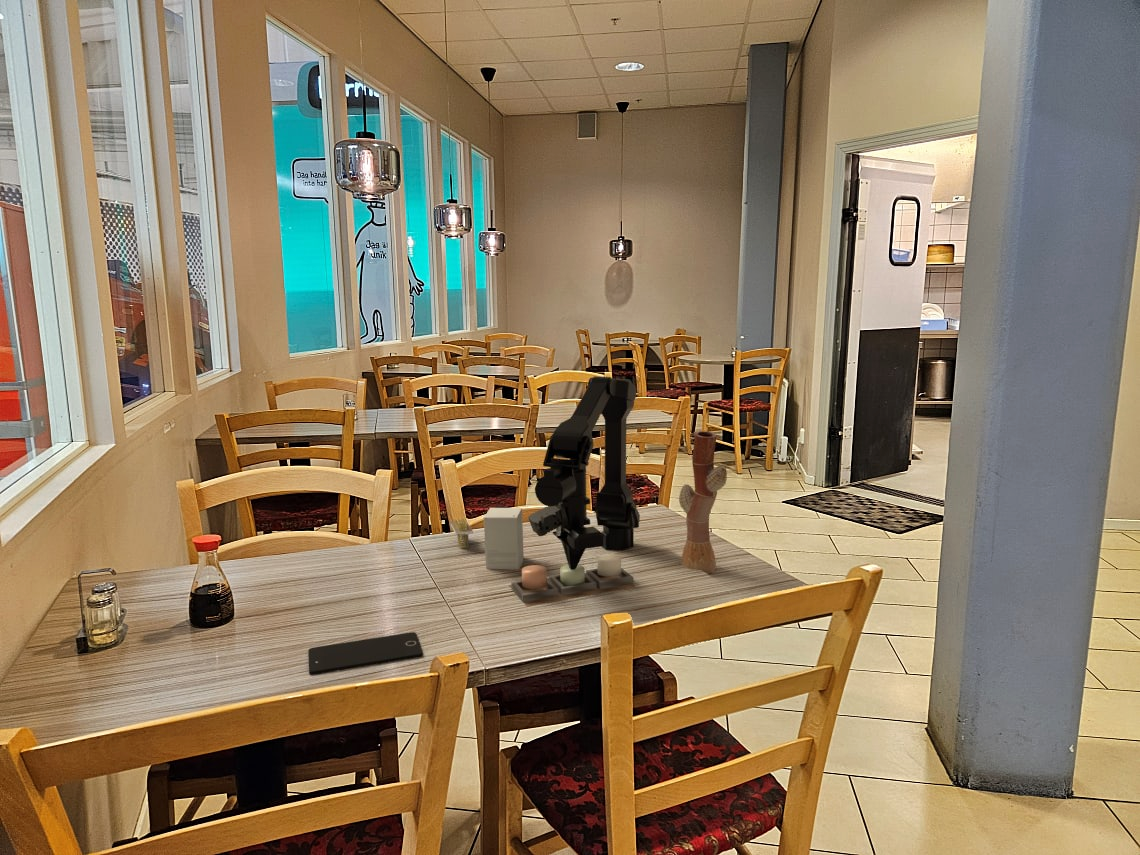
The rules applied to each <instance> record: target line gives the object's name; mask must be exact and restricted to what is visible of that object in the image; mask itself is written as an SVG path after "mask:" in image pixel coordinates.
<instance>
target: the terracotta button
mask: <svg viewBox="0 0 1140 855" xmlns="http://www.w3.org/2000/svg"><path fill="white" fill-rule="evenodd" d="M547 579H548V577H547V567H545V566H543V565H537V564H536V565H535V564H532V565H527V566H524V567H523V568H521V580H522V586H523V587H525V588H528V589H540V588H543V587H545V586H546V585H547Z"/></svg>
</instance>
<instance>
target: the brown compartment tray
mask: <svg viewBox="0 0 1140 855" xmlns="http://www.w3.org/2000/svg"><path fill="white" fill-rule="evenodd" d="M508 587H509V588H511V590H512V592H514V594H515V595H516V596H517V597H518V598H519V600H520V601H521V602H522V603H523V604H524V605H525V606H526V607H531V606H537V605H542V604H548V603H554V602H559V601H561V602H562V601H565V600H566V601H568V600H572V599H577V598H583V597H589V596H594V595H595V596H596V595H601V594H606V593H612V592H617V591H624V590H631V589H636V588H638V586H636V585H635V584H634V576H633V575H632V574H630V573H629V572H628V571H626V570H625V569H623V568H622V567H621V574H620V575H618V576H613V577H606V576H601V575H599V574H598V573H597V568H592V569H585V583H584V584H578V585H572V586H566V587H564V586H563V585H562V584H561V579H560V573H559V574H554V575H549V577H548V578H547V585H546V586H545V587H543V588H540V589H528V588H525V587H523V586H522V579H521V580H516V581H511V582H510V585H508Z"/></svg>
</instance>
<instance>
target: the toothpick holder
mask: <svg viewBox="0 0 1140 855" xmlns="http://www.w3.org/2000/svg"><path fill="white" fill-rule="evenodd" d="M454 519H455V521H454V522H451V523H450V527H451V529H452V530H453V532H454V533H455V534H456V535H457V539H458V546H459V549H465V548H466V549H467V550H468V551H469V550H470V546H469V545H470V543H469V535H473V534H474V530H473V529H472V527H471V526H470V524H469V522H468V521H467V519H465V518H464V516H461V519H458V518H457V517H455V518H454Z"/></svg>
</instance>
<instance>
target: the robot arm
mask: <svg viewBox="0 0 1140 855" xmlns="http://www.w3.org/2000/svg"><path fill="white" fill-rule="evenodd" d="M636 398H637V386H636V385H635V383H633V382H632V379H629V378H625V379H624V378H613V377H611V376H597V375H596V376H593V377H589V379H588V382H587V387H586V390H585V392H584V393H583V395H582V397H581V399H580V401H579V402H578V404H577V406H576V408H575V410H574V412H573V413H572V415H571V416H570V418H567V419H566V420H564V421H562V422H560V423H559V425H558V426H557V427H556V428H555V429H554V431H553V432H552V434H551V435H550V438H549V442H548V446H547V448H546V452H545V455H544V459H543V462H542V466H543V467H547V468H545V469H544V474H543V475H544V476H542V477H540V478H539V479H538V480H537V481H536V483H535V486H534V492H535V493H534V495H535V496H536V497H535V498H536V499H537V500H538V501H539V502H540V503H541V504H543V505H544V506H545V507H543V508H541V509H538V510H537V511H535V512H533V513H531V514H530V515H528V516H527V519H528V520H529V524H530V526H531V529H532V531H533V532H534V533H535V534H536V535H537V536H538V537H543V536H546V535H547V534H549V533H550V532H552V531H553V532H552V534H553V535H554V536H555V537H556V538H558V540H559V541H560V542H561V544H562V548H563V551H564V554H565V558H566V561H567V565H569V568H570V569H571V570H573V569H576V567H577V565H579V564H580V562H581V559H582V557H583V554H584V553H585V551H586V549H587V550H588V549H593V548H594V549H595V548H602V549H604V551H626V550H629V549H631V548H633V547H634V546H635V544H634V530H635V529H638V528H640V517H641V514H640V513H639V510H638V508H637V506H636V505H635V504H636V503H634V494H633V492H632V489H631V488H630V487H629V485H628V483H627V418H628V417H629V415H630V413H631V412H632V411H633V408H634V407H635V400H636ZM600 416H602V417H603V419H604V484H603V486H602V487H601V489H600V491H598V492H597V494H596V502H595V506H594V508H595V510H594V511H595V518H596V523H597V526H602V531H600V530H599V529H598V528H596V527H594V526H588V525H591V519H590V518H589V517H588V516H587V505H591V499H590V498H589V497H587V467H588V466H589V464H590V463H589V460H590V457H591V454H592V451H593V448H594V439H593V435H592V433H593V430H594V428H595V426H596V424H597V422H598V421H599V418H600Z"/></svg>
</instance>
